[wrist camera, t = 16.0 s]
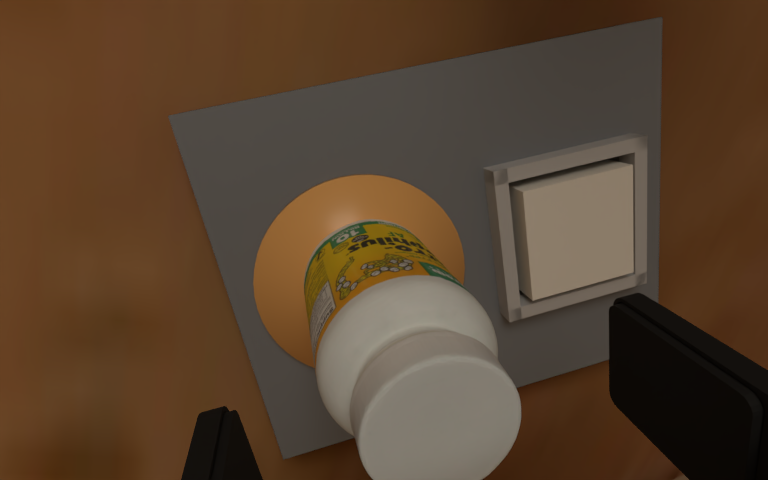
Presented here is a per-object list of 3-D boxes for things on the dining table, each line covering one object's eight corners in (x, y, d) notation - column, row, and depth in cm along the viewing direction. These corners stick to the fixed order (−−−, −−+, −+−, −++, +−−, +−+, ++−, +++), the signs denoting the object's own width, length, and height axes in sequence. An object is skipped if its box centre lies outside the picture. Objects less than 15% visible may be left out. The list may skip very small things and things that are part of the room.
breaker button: (591, 156, 22) (633, 164, 20) (594, 252, 24) (633, 272, 21) (493, 179, 21) (523, 191, 19) (504, 277, 23) (532, 300, 21)
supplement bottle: (290, 324, 20) (299, 520, 11) (320, 202, 18) (358, 310, 9) (409, 341, 21) (505, 527, 12) (444, 230, 20) (581, 346, 11)
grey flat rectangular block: (628, 23, 21) (681, 13, 18) (631, 326, 27) (672, 354, 24) (179, 113, 18) (161, 117, 16) (283, 430, 24) (283, 475, 21)
